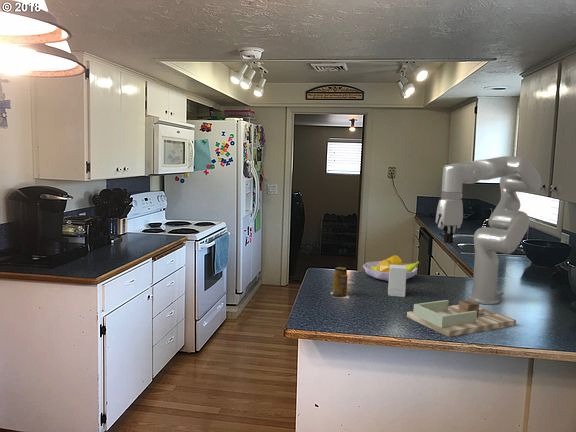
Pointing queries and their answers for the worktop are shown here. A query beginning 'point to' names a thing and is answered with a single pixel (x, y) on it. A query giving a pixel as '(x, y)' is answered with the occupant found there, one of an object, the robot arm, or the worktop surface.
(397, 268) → the supplement box
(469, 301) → the walnut block
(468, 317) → the low bay
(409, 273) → the fruit bowl
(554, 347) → the worktop surface
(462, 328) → the board
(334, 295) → the condiment
